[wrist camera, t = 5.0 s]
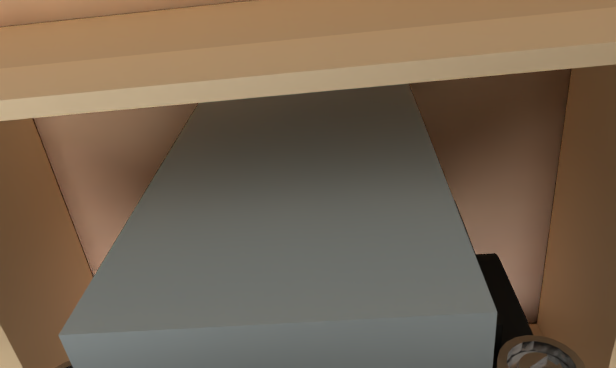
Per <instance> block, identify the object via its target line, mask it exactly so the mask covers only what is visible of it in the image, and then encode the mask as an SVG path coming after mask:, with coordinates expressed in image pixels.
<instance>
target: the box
mask: <svg viewBox="0 0 616 368" xmlns="http://www.w3.org/2000/svg"><path fill="white" fill-rule="evenodd" d="M496 322H497V310H496V307H495V305H494V302H493V300H492V297H491V295H490V292H489V289H488V287H487V284H486V282H485V279H484V277H483V274H482V271H481V269H480V266H479V264H478V261H477V258H476V256H475V253H474V251H473V248H472V246H471V243H470V240H469V238H468V235H467V233H466V230H465V228H464V225H463V222H462V220H461V217H460V215H459V212H458V209H457V207H456V204H455V202H454V199H453V197H452V194H451V191H450V189H449V186H448V184H447V181H446V179H445V176H444V173H443V171H442V168H441V166H440V163H439V160H438V158H437V155H436V153H435V150H434V148H433V145H432V142H431V140H430V137H429V135H428V132H427V130H426V127H425V124H424V122H423V119H422V117H421V114H420V111H419V109H418V106H417V104H416V101H415V99H414V96H413V93H412V91H411V88H410V86H409V83H408V84H397V85H386V86H376V87H365V88H354V89H343V90H332V91H321V92H311V93H300V94H289V95H278V96H267V97H256V98H246V99H235V100H224V101H213V102H202V103H198V105H197V106H196V108H195V110H194V111H193V113H192V115H191V116H190V118H189V120H188V121H187V123H186V125H185V126H184V128H183V130H182V131H181V133H180V135H179V136H178V138H177V140H176V141H175V143H174V145H173V146H172V148H171V149H170V151H169V153H168V154H167V156H166V158H165V159H164V161H163V163H162V164H161V166H160V168H159V169H158V171H157V173H156V174H155V176H154V178H153V179H152V181H151V183H150V184H149V186H148V188H147V189H146V191H145V193H144V194H143V196H142V198H141V199H140V201H139V202H138V204H137V206H136V207H135V209H134V211H133V212H132V214H131V216H130V217H129V219H128V221H127V222H126V224H125V226H124V227H123V229H122V231H121V232H120V234H119V236H118V237H117V239H116V241H115V242H114V244H113V246H112V247H111V249H110V251H109V252H108V254H107V255H106V257H105V259H104V260H103V262H102V264H101V265H100V267H99V269H98V270H97V272H96V274H95V275H94V277H93V279H92V280H91V282H90V284H89V285H88V287H87V289H86V290H85V292H84V294H83V295H82V297H81V299H80V300H79V302H78V304H77V305H76V307H75V308H74V310H73V312H72V313H71V315H70V317H69V318H68V320H67V322H66V323H65V325H64V327H63V328H62V330H61V332H60V333H59V335H58V336H59V338H60V340H61V342H62V345H63V347H64V349H65V351H66V353H67V356H68V358H69V360H70V362H71V364H72V367H73V368H493V356H494V345H495V333H496Z"/></svg>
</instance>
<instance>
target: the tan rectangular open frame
mask: <svg viewBox="0 0 616 368" xmlns="http://www.w3.org/2000/svg"><path fill="white" fill-rule="evenodd" d="M571 68H572V69H571ZM560 69H571V77H570V84H569V91H568V99H567V106H566V114H565V121H564V128H563V136H562V143H561V150H560V158H559V165H558V172H557V180H556V187H555V194H554V202H553V209H552V217H551V224H550V231H549V239H548V246H547V253H546V261H545V268H544V275H543V283H542V290H541V297H540V305H539V312H538V320H537V324H529V326H530V328H531V330H532V333H533V335H535V336H543V337H547V338H551V339H554V340H556V341H558V342H560V343H563V344H565V345H566V346H568V347H569V348H570V349H571V350H573V351H574V352H575V353H576V354H577V355H578V356H579V357H580V359H581V360H582V361H583V362H584V365H585V368H616V0H252V1H242V2H233V3H223V4H214V5H205V6H195V7H186V8H176V9H167V10H158V11H148V12H139V13H129V14H120V15H111V16H101V17H92V18H82V19H73V20H63V21H54V22H45V23H35V24H26V25H16V26H7V27H0V368H56V367H57V366H59V365H61V364H63V363H64V362H67V361H70V360H69V358H68V356H67V353H66V351H65V349H64V347H63V345H62V342H61V340H60V338H59V336H58V335H59V333H60V332H61V330H62V328H63V327H64V325H65V323H66V322H67V320H68V318H69V317H70V315H71V313H72V312H73V310H74V308H75V307H76V305H77V304H78V302H79V300H80V299H81V297H82V295H83V294H84V292H85V290H86V289H87V287H88V285H89V284H90V282H91V280H92V279H93V276H92V273H91V271H90V268H89V265H88V263H87V260H86V258H85V255H84V252H83V250H82V247H81V244H80V242H79V239H78V237H77V234H76V231H75V229H74V226H73V224H72V221H71V218H70V216H69V213H68V210H67V208H66V205H65V203H64V200H63V197H62V195H61V192H60V190H59V187H58V184H57V182H56V179H55V176H54V174H53V171H52V169H51V166H50V163H49V161H48V158H47V156H46V153H45V150H44V148H43V145H42V142H41V140H40V137H39V135H38V132H37V129H36V127H35V124H34V121H33V119H32V118H39V117H50V116H61V115H72V114H83V113H94V112H105V111H115V110H126V109H137V108H148V107H159V106H170V105H180V104H191V103H202V102H213V101H224V100H235V99H246V98H256V97H267V96H278V95H289V94H300V93H311V92H321V91H332V90H343V89H354V88H365V87H376V86H386V85H397V84H408V83H419V82H430V81H441V80H452V79H462V78H473V77H484V76H495V75H506V74H517V73H527V72H538V71H549V70H560Z"/></svg>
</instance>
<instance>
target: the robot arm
mask: <svg viewBox="0 0 616 368" xmlns="http://www.w3.org/2000/svg"><path fill="white" fill-rule="evenodd" d="M454 202H455V200H454ZM455 204H456V202H455ZM456 207H457V205H456ZM457 209H458V208H457ZM458 212H459V210H458ZM459 215H460V213H459ZM460 217H461V215H460ZM461 220H462V218H461ZM462 222H463V220H462ZM463 225H464V223H463ZM464 228H465V226H464ZM465 230H466V228H465ZM466 233H467V231H466ZM467 235H468V233H467ZM468 238H469V236H468ZM469 240H470V238H469ZM470 243H471V241H470ZM471 246H472V244H471ZM472 248H473V246H472ZM473 251H474V249H473ZM474 253H475V251H474ZM475 256H476V258H477V261H478V264H479V266H480V269H481V271H482V274H483V277H484V279H485V282H486V284H487V287H488V289H489V292H490V295H491V297H492V300H493V302H494V305H495V307H496V310H497V322H496V333H495V345H494V356H493V368H585V365H584V362H583V361H582V360H581V359H580V357H579V356H578V355H577V354H576V353H575V352H574V351H573V350H571V349H570V348H569V347H568V346H566V345H565V344H563V343H560V342H558V341H556V340H554V339H551V338H547V337H543V336H535V335H533V333H532V330H531V328H530V326H529V324H528V322H527V319H526V317H525V315H524V313H523V310H522V308H521V306H520V304H519V301H518V299H517V297H516V295H515V292H514V290H513V288H512V286H511V284H510V281H509V279H508V277H507V275H506V272H505V270H504V268H503V266H502V263H501V261H500V259H499V257H498V256H497V255H496V254H495V253H494V254H477V255H476V254H475ZM56 368H73V367H72V364H71V362H70V361H67V362H64V363H63V364H61V365H59V366H57V367H56Z"/></svg>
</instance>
